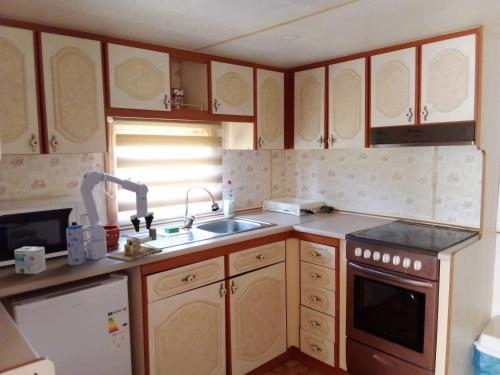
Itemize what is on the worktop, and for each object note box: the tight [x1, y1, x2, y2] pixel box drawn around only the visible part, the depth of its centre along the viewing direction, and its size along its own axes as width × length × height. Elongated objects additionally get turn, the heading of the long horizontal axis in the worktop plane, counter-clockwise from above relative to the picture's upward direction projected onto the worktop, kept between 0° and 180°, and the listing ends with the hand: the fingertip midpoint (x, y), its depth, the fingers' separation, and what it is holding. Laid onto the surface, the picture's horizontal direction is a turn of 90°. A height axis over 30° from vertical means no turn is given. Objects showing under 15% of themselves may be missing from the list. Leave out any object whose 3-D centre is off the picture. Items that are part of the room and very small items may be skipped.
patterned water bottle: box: [65, 221, 87, 266], centre depth 191 cm, size 8×8×20 cm
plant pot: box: [102, 224, 121, 251], centre depth 215 cm, size 13×13×12 cm
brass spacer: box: [123, 243, 134, 255], centre depth 200 cm, size 2×5×5 cm, turn 57°
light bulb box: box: [13, 246, 47, 275], centre depth 179 cm, size 11×7×11 cm, turn 81°
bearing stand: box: [107, 236, 163, 263], centre depth 203 cm, size 22×16×8 cm
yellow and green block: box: [140, 227, 158, 245], centre depth 208 cm, size 14×3×6 cm, turn 147°
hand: (142, 230), depth 213 cm, fingers open, 7 cm apart
